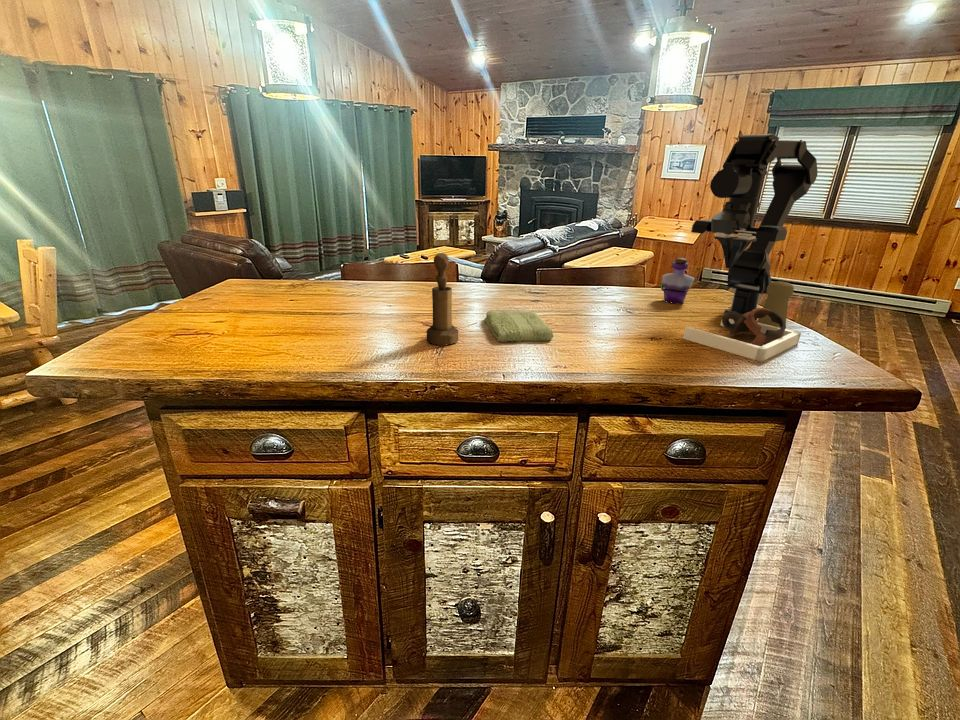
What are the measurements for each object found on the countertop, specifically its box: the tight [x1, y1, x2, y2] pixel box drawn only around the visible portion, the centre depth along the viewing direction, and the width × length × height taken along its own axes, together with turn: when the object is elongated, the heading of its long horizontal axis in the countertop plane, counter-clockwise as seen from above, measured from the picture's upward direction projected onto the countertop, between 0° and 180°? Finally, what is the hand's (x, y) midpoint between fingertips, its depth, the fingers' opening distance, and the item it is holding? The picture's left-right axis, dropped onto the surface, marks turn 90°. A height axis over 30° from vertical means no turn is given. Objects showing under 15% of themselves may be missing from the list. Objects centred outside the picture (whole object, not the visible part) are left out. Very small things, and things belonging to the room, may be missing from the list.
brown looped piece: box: [721, 307, 787, 346], centre depth 100 cm, size 12×10×8 cm
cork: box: [756, 280, 795, 328], centre depth 107 cm, size 6×6×11 cm
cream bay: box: [683, 314, 802, 363], centre depth 100 cm, size 17×16×2 cm
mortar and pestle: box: [426, 252, 459, 346], centre depth 95 cm, size 7×6×18 cm
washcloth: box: [484, 310, 554, 343], centre depth 105 cm, size 13×18×3 cm
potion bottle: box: [660, 257, 695, 305], centre depth 129 cm, size 9×9×12 cm
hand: (728, 268), depth 109 cm, fingers closed
